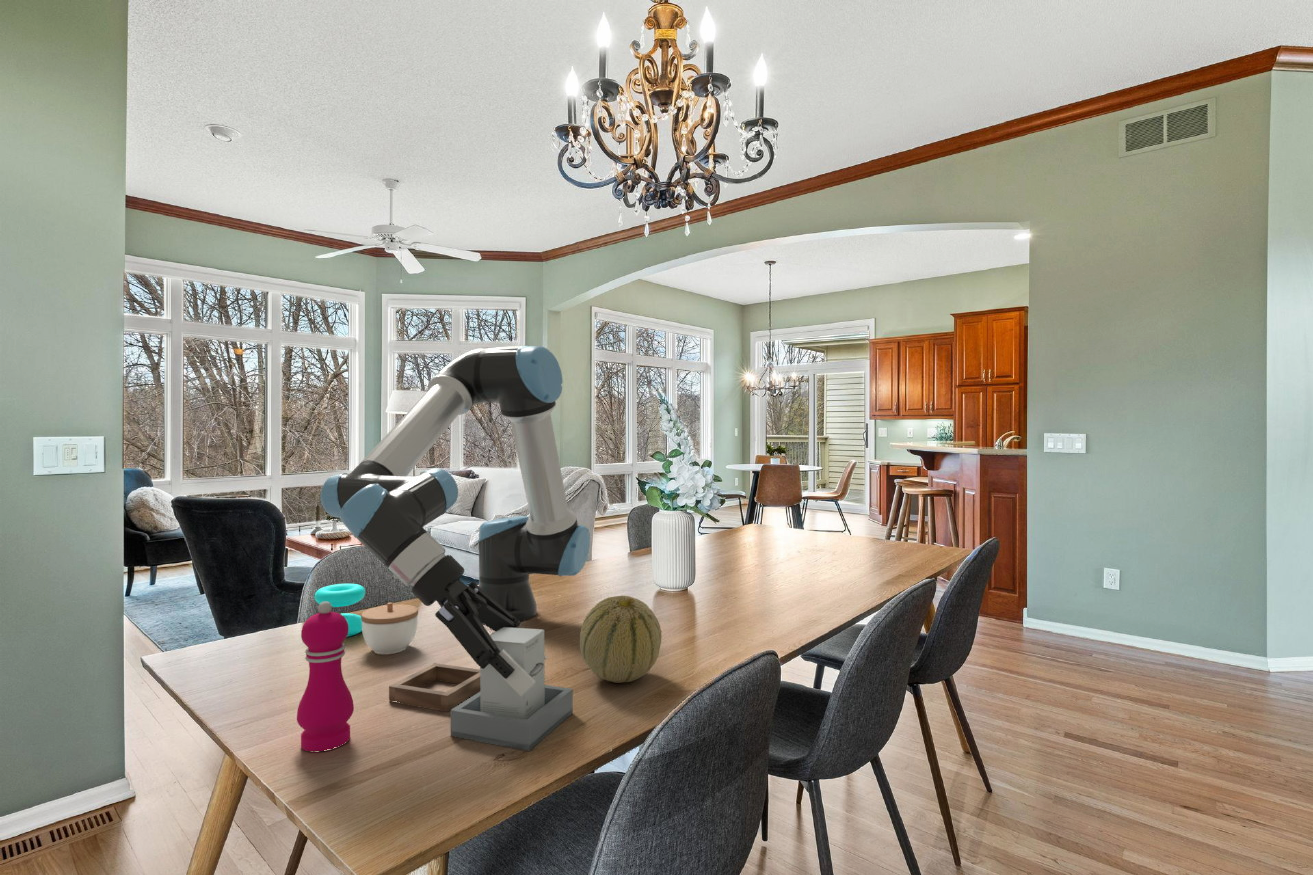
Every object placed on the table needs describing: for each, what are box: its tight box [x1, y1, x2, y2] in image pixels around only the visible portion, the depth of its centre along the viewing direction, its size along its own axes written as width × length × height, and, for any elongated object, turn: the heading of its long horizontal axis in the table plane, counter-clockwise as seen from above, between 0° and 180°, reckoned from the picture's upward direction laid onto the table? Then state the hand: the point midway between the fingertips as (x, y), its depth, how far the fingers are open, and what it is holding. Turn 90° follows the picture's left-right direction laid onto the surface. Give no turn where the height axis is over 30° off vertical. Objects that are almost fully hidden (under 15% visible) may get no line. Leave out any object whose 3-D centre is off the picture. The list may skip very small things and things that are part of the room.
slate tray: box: [450, 684, 574, 752], centre depth 100 cm, size 13×13×4 cm
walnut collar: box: [388, 662, 480, 713], centre depth 111 cm, size 11×11×2 cm
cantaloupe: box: [579, 595, 662, 684], centre depth 117 cm, size 15×15×15 cm
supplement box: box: [479, 627, 546, 720], centre depth 100 cm, size 7×7×13 cm
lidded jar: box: [360, 602, 419, 655], centre depth 134 cm, size 11×11×9 cm
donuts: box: [314, 583, 366, 638], centre depth 144 cm, size 10×10×10 cm
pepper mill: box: [296, 602, 355, 752], centre depth 94 cm, size 7×7×20 cm
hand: (534, 675), depth 100 cm, fingers open, 9 cm apart
